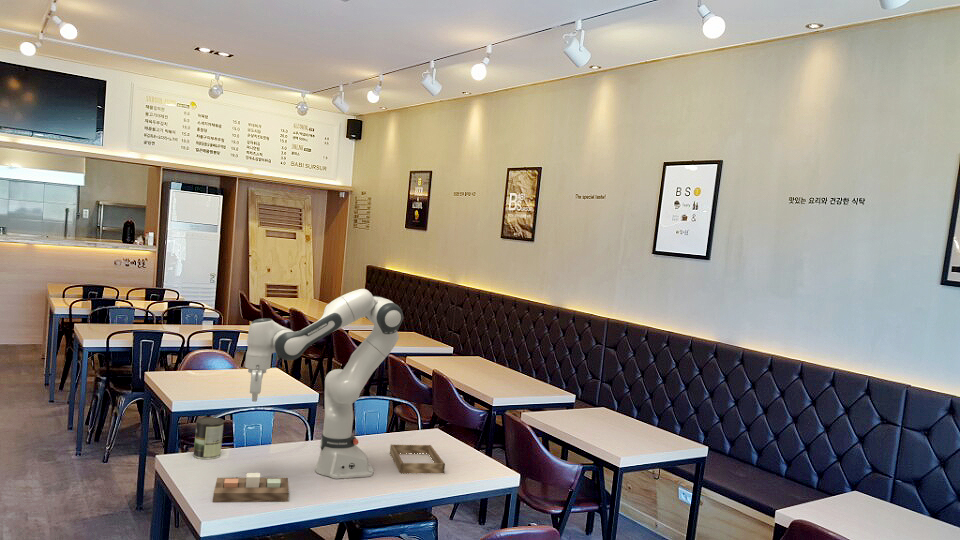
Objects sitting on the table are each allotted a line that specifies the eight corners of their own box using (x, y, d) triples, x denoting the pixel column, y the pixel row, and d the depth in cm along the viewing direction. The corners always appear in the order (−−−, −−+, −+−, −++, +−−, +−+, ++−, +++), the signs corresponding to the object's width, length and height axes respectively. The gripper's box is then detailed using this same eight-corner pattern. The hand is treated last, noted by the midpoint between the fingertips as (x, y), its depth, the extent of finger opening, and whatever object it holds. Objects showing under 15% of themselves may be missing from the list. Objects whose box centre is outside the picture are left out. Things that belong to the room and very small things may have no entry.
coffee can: (189, 458, 265) (192, 422, 265) (198, 450, 275) (201, 416, 275) (216, 460, 266) (219, 424, 265) (224, 452, 276) (227, 418, 276)
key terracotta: (237, 488, 236) (238, 478, 236) (236, 493, 232) (237, 482, 232) (224, 488, 235) (225, 478, 235) (223, 493, 231) (224, 483, 231)
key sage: (279, 488, 240) (280, 478, 240) (279, 493, 236) (280, 483, 236) (266, 488, 239) (267, 478, 239) (266, 493, 235) (267, 483, 235)
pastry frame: (429, 454, 302) (430, 445, 302) (443, 473, 277) (444, 464, 277) (389, 453, 297) (390, 444, 297) (400, 473, 272) (401, 463, 272)
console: (287, 485, 246) (287, 477, 246) (288, 501, 232) (288, 492, 232) (216, 486, 239) (217, 477, 239) (212, 502, 225) (213, 493, 225)
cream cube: (259, 483, 238) (260, 473, 238) (258, 487, 234) (259, 477, 234) (245, 483, 237) (246, 472, 237) (245, 487, 233) (246, 477, 233)
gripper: (266, 368, 238) (263, 407, 239) (267, 358, 258) (263, 394, 258) (247, 367, 237) (244, 407, 237) (249, 357, 256) (246, 394, 256)
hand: (254, 400), depth 248 cm, fingers closed
